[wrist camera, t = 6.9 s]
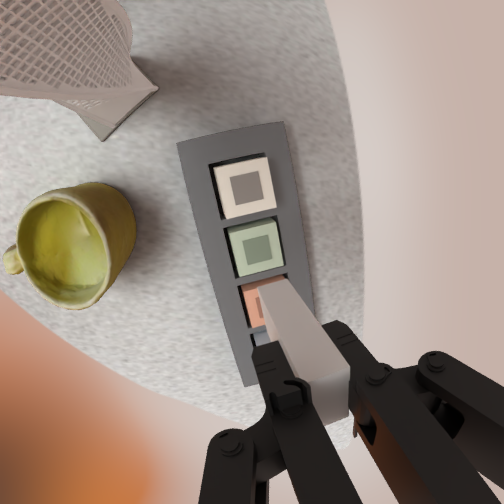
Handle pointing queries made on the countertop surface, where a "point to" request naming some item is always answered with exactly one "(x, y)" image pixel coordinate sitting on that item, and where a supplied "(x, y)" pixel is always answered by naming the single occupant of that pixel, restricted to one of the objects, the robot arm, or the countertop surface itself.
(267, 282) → the key terracotta
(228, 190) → the key ivory
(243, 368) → the keyguard frame
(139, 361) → the countertop surface
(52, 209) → the mug
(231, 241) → the key sage
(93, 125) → the skyscraper
